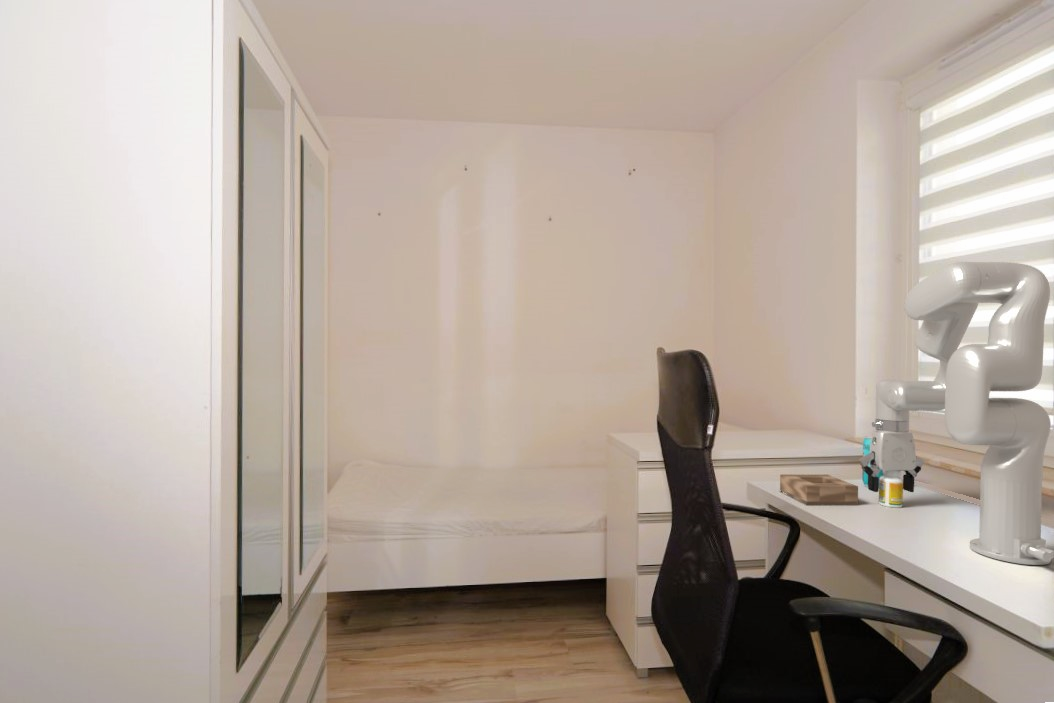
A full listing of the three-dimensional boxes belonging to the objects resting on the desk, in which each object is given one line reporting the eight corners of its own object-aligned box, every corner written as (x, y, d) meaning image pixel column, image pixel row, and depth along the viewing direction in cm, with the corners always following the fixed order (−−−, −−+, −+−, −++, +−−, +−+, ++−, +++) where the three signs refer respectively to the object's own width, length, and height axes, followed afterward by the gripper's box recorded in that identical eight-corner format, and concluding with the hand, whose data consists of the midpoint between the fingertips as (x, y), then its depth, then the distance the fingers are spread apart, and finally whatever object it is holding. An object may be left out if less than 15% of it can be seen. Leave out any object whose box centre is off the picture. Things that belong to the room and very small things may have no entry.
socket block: (857, 505, 151) (858, 486, 151) (806, 505, 151) (806, 486, 150) (827, 491, 165) (827, 474, 165) (780, 491, 164) (780, 474, 164)
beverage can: (858, 484, 175) (859, 435, 175) (877, 484, 175) (878, 435, 175) (868, 488, 170) (869, 438, 169) (888, 489, 169) (889, 438, 169)
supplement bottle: (875, 504, 152) (876, 468, 152) (883, 501, 156) (883, 466, 156) (898, 509, 148) (899, 472, 148) (905, 505, 151) (906, 469, 151)
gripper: (869, 428, 147) (868, 494, 148) (934, 428, 148) (932, 494, 149) (851, 424, 155) (850, 487, 155) (913, 424, 156) (911, 487, 156)
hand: (890, 490), depth 152 cm, fingers open, 9 cm apart
